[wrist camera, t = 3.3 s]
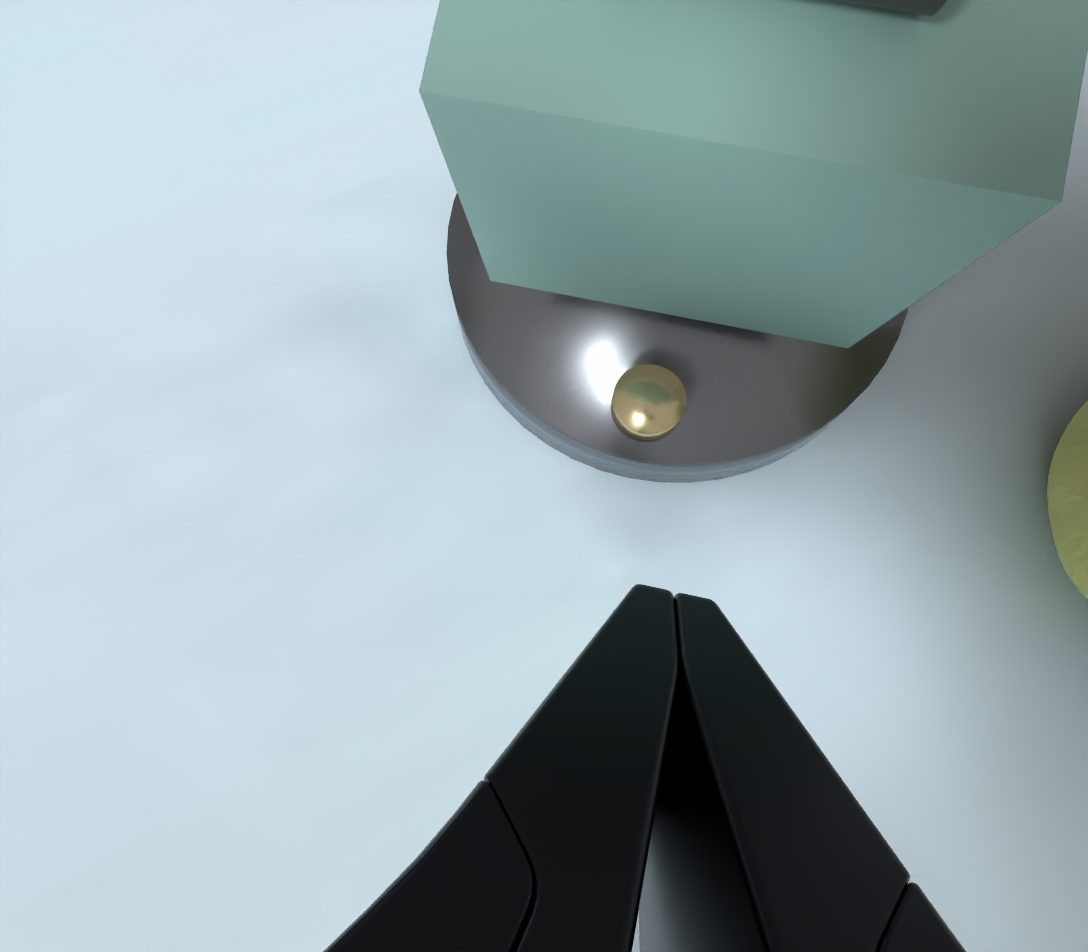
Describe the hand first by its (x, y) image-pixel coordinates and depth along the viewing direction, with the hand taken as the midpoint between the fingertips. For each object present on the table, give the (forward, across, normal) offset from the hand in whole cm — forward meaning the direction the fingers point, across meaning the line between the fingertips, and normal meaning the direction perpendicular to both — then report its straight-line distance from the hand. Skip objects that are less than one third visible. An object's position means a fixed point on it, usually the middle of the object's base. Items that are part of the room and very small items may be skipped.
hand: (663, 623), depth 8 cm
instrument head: (+16, 0, -3) cm, 16 cm away
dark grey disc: (+18, 0, +1) cm, 19 cm away
